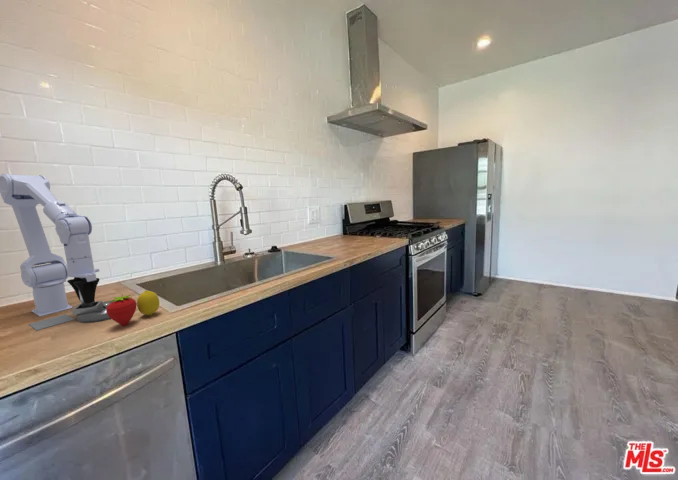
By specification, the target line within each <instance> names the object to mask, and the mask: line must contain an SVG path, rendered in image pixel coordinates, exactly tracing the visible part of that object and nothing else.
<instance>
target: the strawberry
mask: <svg viewBox="0 0 678 480" xmlns="http://www.w3.org/2000/svg"><path fill="white" fill-rule="evenodd" d="M117 292H118V293H119V294H121V296H113V298H114V299H112V301H114V302H112V303H110V304H109V305H108V306H107V309H106V313H107V314H108V316H109V317H110V318H111V319H110V320H111V321H114V322H115V323H116V324H119V325H121V326H122V327H126V326H127V325H129V323H130V321H131V320H132V318H133V317H134V315H135V313H136V310H137V301H136V300H135V299H134V298H133V297H131V294H128V295H124V294H123V293H121V292H119V291H118V290H117ZM108 301H109V302H111V300H108Z"/></svg>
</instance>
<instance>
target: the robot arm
mask: <svg viewBox="0 0 678 480" xmlns="http://www.w3.org/2000/svg"><path fill="white" fill-rule="evenodd" d="M0 196H1V199H2V200H3V203H4V204H6V205H9V206H11V208H12V210H13V213H14V215H15V219H16V220H17V224H18V226H19V230H20V232H21V235H22V238H23V241H24V244H25V246H26V250H27V252H28V253H27V254H28V255H29V257H28V258H26V259H25V260H24V261H23V262H22V263H21V264H20V267H19V269H20V272H21V274H20V276H21V279H22V282H23V284H24V285H25V286H27V287H28V288H32V298H33V302H34V306H35V309H32V310H31V312H32V313H34V315H37V316H39V317H43V316H48V315H51V314H56V313H59V312H63V311H67V310H70V309H74V307H73V305H70V304H69V303H68V298H67V292H66V287H65V282H67V283H68V284H69V285H70V287H72V289H73V290H74V292H75V295H76V297H77V299H78V300H79V301H80V295H79V291H80V293H81V296H82V299H83V301H84V303H85V304H87V303H90V302H94V299H95V297H96V290H97V286H98V283H99V282H100V278H99V277H97V275H96V273H99V272H100V269H99V268H95V267H94V260H93V259H94V258H93V255H92V248H91V243H90V242H91V241H90V238H89V237H90V236H89V235H91V234H92V231H93V226H92V222H91V220H90V218H88V216H86V215H81V214H77V212H75V210H73V209H72V208H71V206H70V205H69V204H67V203H66V202H65V201H62V200H58V199H57V197H56V196H55V194H53V193H52V191H51V184H50V181H49V179H48V178H47V177H46V176H45V175H43V174H42V175H41V174H40V175H33V174H32V175H31V174H29V175H27V174H10V173H9V174H8V173H1V174H0ZM39 204H40V205H41V206H42V207H43V209H42V211H43V214H44V215H45V216H46V217H47V218H48V219H49V220H50V221H51V222H52V223H53V224H54V226H55V228H54V229H55V232H56V234H57V236H58V238H59V242H60V244H63V248H64V254H65V260H66V261H65V260H64V257H62V256H61V255H57V254H56V253H52V251H51V248H50V246H49V242H48V240H47V237H46V234H45V230H44V227H43V225H42V221H41V219H40V216H39V214H38V211H37V208H36V207H37V205H39ZM68 278H71V279H68ZM72 278H73V279H72ZM67 279H68V280H67ZM95 300H96V299H95Z"/></svg>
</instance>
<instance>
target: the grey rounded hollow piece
mask: <svg viewBox="0 0 678 480" xmlns="http://www.w3.org/2000/svg"><path fill="white" fill-rule="evenodd" d="M112 300H113V299H112ZM112 300H107V301H103V300H98V301H96V300H95V304H96V306H92V307H86V308H82V306H81V303H78V304H76V306H74V307H73V308H72V310H71V312H72V316H76V321H77V322H78V323H83V324H85V323H86V324H88V323H89V324H91V323H97V322H102V321H108V320H112V319H111V318H110V317H109V316H108V314H107V313H106V309H107V306H108V305H109V304H110V303H112V302H114V301H112ZM109 301H111V302H109Z"/></svg>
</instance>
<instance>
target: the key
mask: <svg viewBox="0 0 678 480" xmlns="http://www.w3.org/2000/svg"><path fill="white" fill-rule="evenodd" d="M79 295H80V300H79V302H80V304H81V306H82V308H86V307H92V306H96V304H95V302H96V299H94V302H90V303H87V304H85V303H84V301H83V299H82V296H81V293H80V291H79Z"/></svg>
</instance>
